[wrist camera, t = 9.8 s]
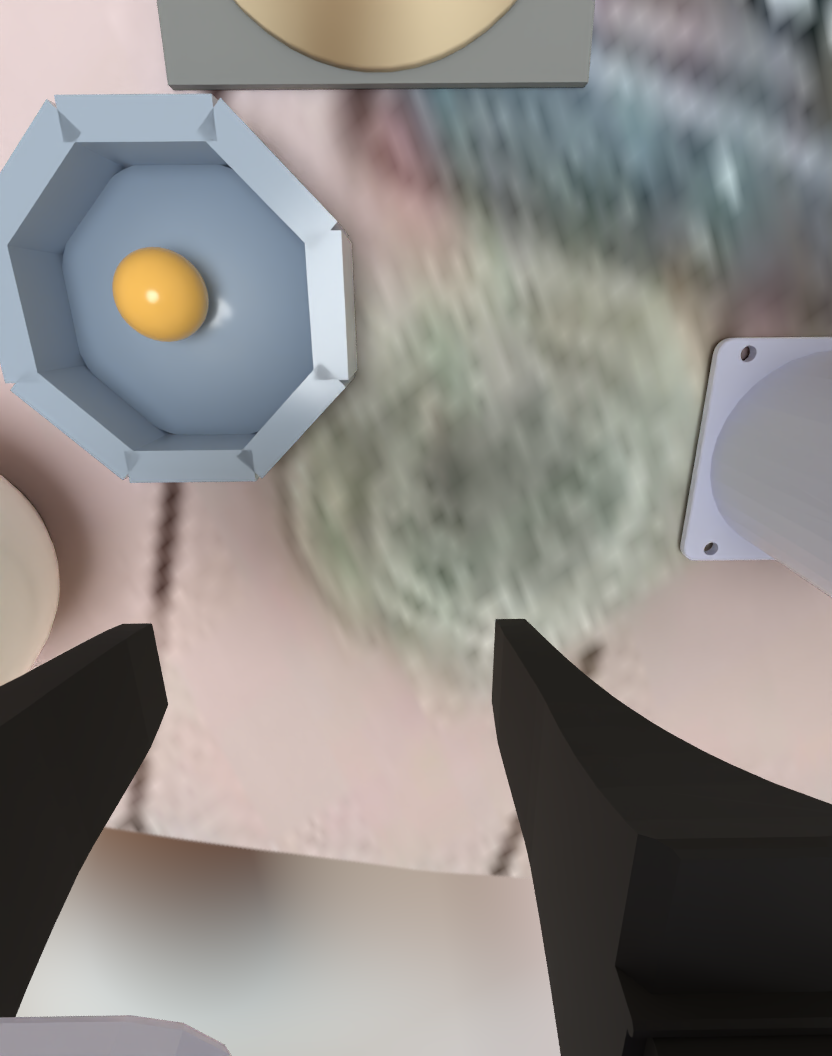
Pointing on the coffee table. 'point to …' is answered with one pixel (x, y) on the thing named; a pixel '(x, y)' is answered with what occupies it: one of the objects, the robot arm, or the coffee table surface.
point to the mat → (265, 63)
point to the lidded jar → (24, 583)
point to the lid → (375, 29)
